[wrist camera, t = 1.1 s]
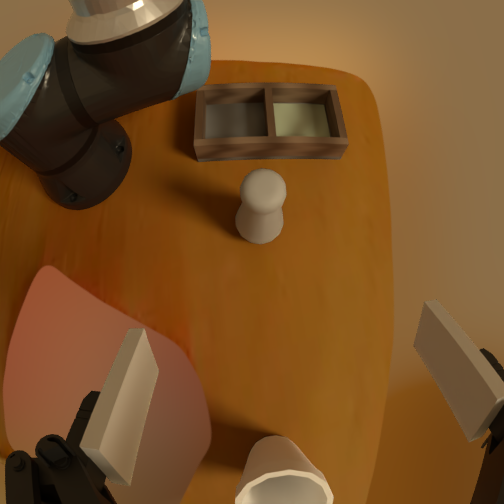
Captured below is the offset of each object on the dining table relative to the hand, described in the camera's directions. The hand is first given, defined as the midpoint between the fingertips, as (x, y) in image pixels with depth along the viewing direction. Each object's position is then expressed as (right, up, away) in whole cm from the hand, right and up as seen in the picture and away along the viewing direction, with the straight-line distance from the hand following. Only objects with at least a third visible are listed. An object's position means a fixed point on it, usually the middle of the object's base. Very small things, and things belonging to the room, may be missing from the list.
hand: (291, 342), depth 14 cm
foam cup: (+1, -22, +21) cm, 31 cm away
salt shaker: (-1, +7, +27) cm, 28 cm away
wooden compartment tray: (+1, +22, +30) cm, 37 cm away
